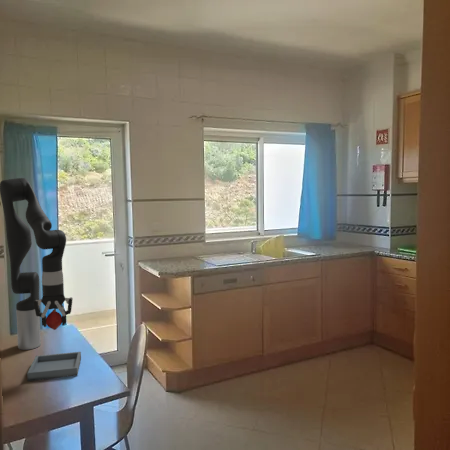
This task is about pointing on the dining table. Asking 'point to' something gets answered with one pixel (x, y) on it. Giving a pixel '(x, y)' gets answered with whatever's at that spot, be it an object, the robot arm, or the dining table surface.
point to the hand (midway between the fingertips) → (54, 325)
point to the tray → (54, 366)
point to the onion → (54, 320)
